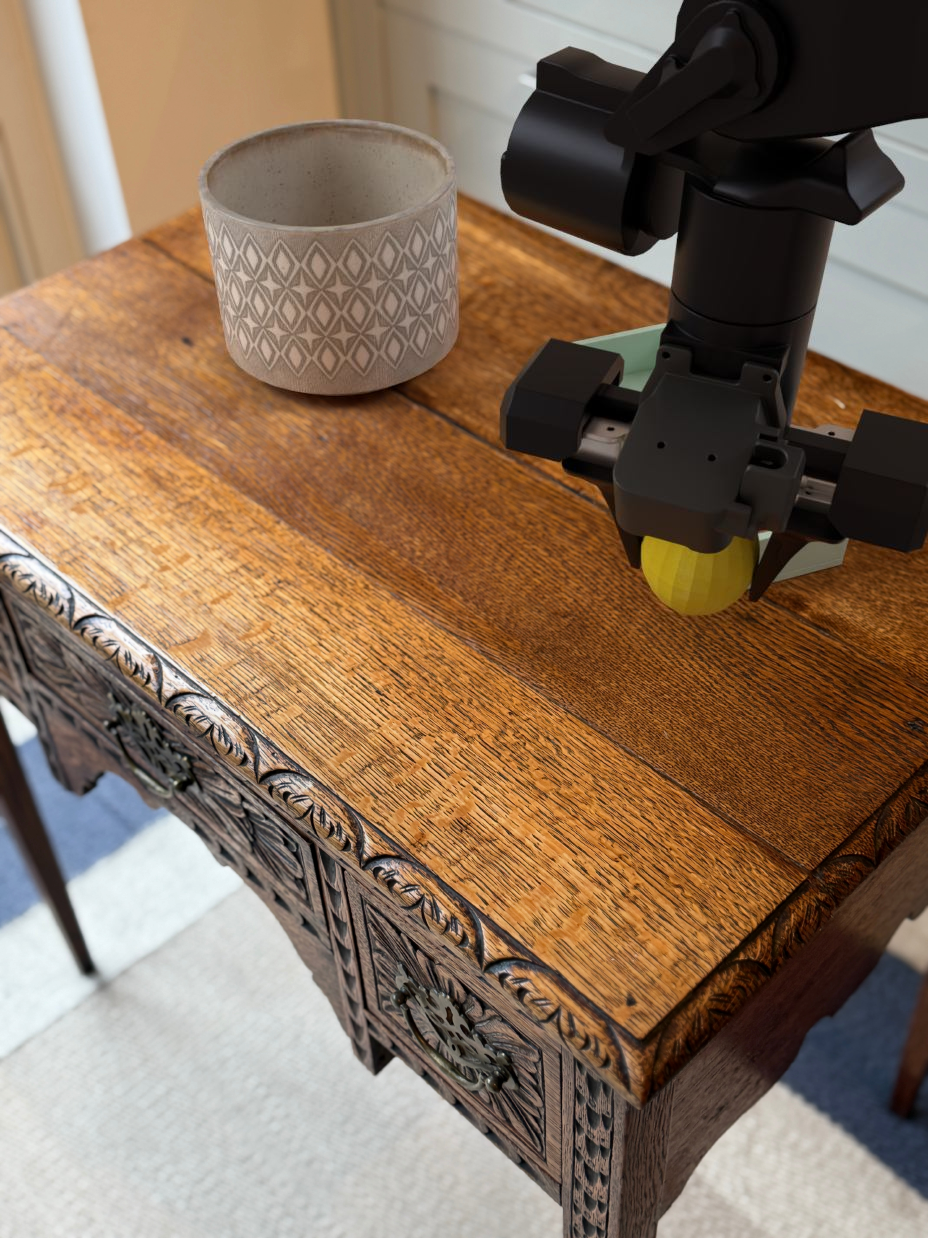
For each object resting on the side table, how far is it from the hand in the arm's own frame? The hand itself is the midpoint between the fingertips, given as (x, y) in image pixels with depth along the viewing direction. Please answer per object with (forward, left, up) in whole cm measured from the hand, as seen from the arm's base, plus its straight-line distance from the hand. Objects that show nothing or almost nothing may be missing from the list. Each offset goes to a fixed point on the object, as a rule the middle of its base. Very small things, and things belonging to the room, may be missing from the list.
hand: (694, 579), depth 57 cm
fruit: (0, 0, -2) cm, 2 cm away
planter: (+46, -1, -12) cm, 48 cm away
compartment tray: (+19, -16, -12) cm, 28 cm away
